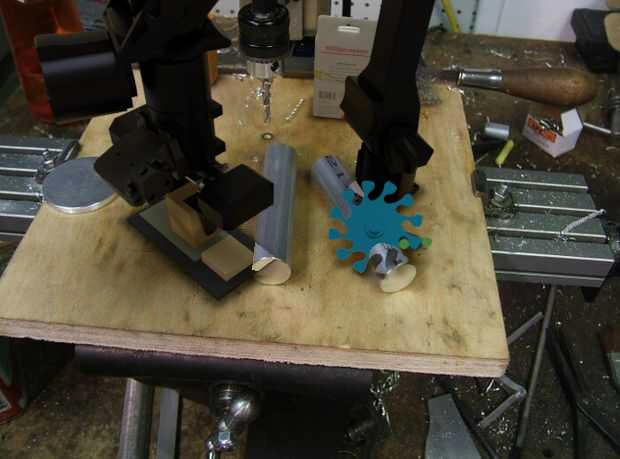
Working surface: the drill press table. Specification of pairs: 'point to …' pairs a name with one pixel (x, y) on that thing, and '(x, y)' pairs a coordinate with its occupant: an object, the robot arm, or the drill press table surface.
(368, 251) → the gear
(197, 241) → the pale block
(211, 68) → the supplement box
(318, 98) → the ink cartridge box
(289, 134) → the drill press table surface
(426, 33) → the robot arm
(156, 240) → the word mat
